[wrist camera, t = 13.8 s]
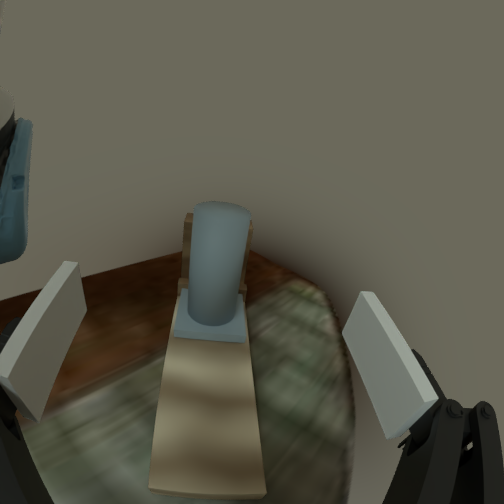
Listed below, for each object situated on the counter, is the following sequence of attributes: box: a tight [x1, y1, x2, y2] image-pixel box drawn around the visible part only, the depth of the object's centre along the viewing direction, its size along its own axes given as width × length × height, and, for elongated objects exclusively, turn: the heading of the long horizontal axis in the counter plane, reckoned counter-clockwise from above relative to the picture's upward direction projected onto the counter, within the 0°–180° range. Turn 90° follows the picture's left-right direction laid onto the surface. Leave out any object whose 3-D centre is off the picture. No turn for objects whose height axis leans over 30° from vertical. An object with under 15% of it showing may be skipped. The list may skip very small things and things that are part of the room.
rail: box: [148, 213, 267, 500], centre depth 25 cm, size 29×8×10 cm, turn 5°
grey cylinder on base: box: [174, 201, 251, 343], centre depth 28 cm, size 7×7×12 cm
